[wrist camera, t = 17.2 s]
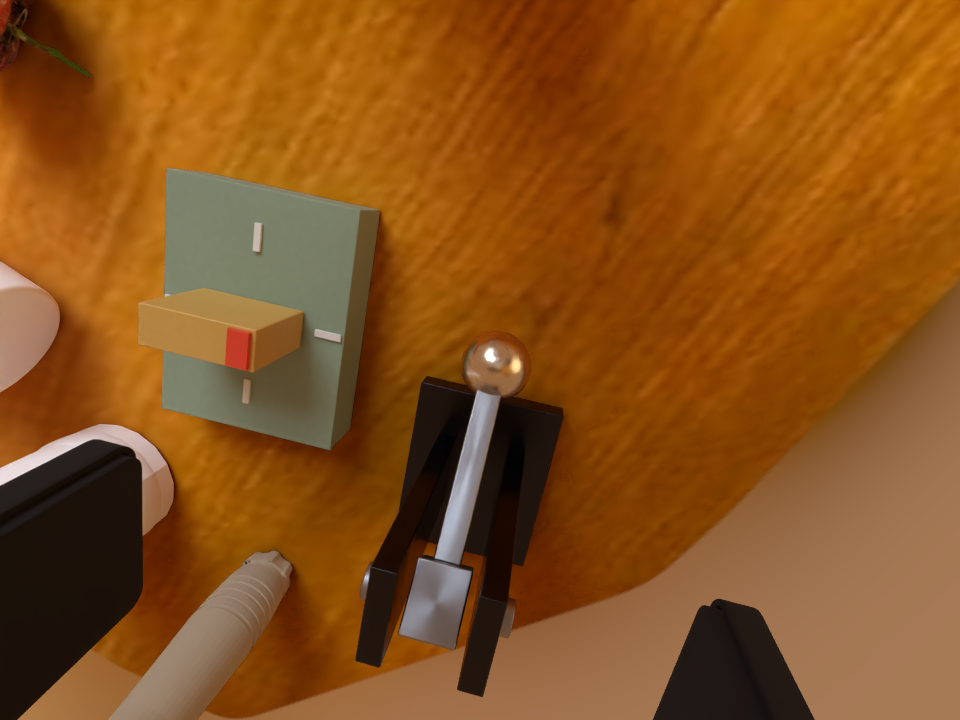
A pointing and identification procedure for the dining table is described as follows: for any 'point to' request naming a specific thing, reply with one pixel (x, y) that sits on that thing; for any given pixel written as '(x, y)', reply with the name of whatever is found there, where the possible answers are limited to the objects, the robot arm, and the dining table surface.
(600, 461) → the dining table surface
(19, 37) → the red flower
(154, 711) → the handle
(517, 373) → the ball knob lever
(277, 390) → the plate
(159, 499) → the bottle
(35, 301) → the mug
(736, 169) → the dining table surface
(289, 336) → the lock knob
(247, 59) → the dining table surface
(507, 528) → the handle bracket
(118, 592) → the robot arm
